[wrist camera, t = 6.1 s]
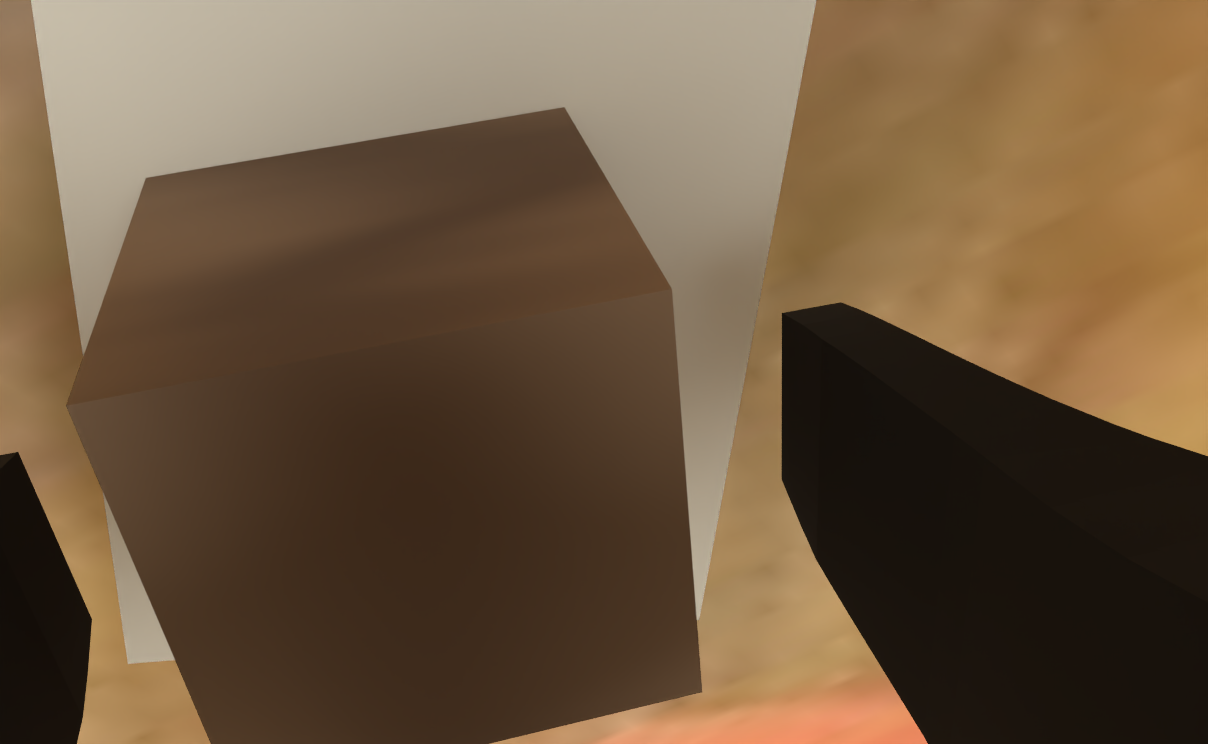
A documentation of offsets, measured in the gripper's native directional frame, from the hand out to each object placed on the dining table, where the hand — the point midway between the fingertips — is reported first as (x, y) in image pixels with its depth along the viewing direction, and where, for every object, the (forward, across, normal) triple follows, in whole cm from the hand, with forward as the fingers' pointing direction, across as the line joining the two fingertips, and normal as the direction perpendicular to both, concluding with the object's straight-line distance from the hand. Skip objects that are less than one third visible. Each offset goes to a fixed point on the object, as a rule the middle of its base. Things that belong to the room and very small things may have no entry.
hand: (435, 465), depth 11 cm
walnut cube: (+3, 0, 0) cm, 3 cm away
